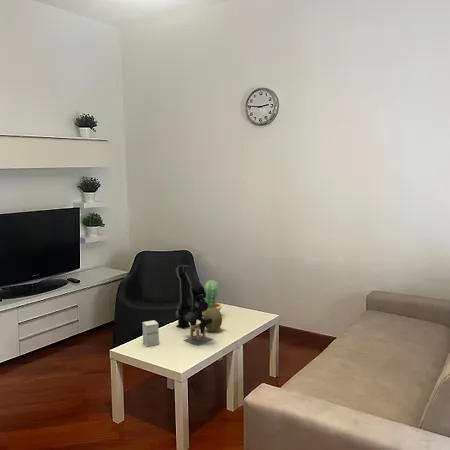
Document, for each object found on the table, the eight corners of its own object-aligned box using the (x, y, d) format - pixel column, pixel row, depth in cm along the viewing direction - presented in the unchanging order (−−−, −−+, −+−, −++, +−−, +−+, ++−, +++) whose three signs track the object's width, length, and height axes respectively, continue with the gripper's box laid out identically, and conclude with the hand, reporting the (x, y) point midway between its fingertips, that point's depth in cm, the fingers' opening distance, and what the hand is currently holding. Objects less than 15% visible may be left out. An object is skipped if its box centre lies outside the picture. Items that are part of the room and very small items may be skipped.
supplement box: (146, 347, 266) (146, 325, 265) (142, 342, 273) (142, 321, 271) (159, 344, 270) (158, 323, 268) (155, 340, 276) (154, 319, 274)
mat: (183, 340, 275) (183, 340, 275) (198, 335, 284) (198, 334, 284) (198, 345, 267) (198, 345, 267) (212, 339, 276) (212, 339, 276)
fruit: (225, 331, 290) (225, 307, 288) (211, 335, 283) (211, 311, 281) (214, 326, 299) (213, 303, 297) (200, 330, 291) (199, 307, 290)
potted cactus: (224, 319, 311) (224, 282, 308) (201, 322, 307) (201, 284, 304) (219, 312, 326) (218, 277, 323) (197, 314, 322) (196, 278, 319)
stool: (190, 337, 275) (190, 326, 274) (197, 335, 279) (197, 323, 279) (197, 340, 271) (197, 328, 270) (205, 337, 275) (204, 325, 275)
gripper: (175, 306, 273) (176, 332, 275) (198, 313, 261) (199, 340, 263) (189, 302, 281) (190, 327, 283) (212, 308, 269) (213, 334, 271)
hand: (197, 332), depth 275 cm, fingers closed on stool, 5 cm apart
